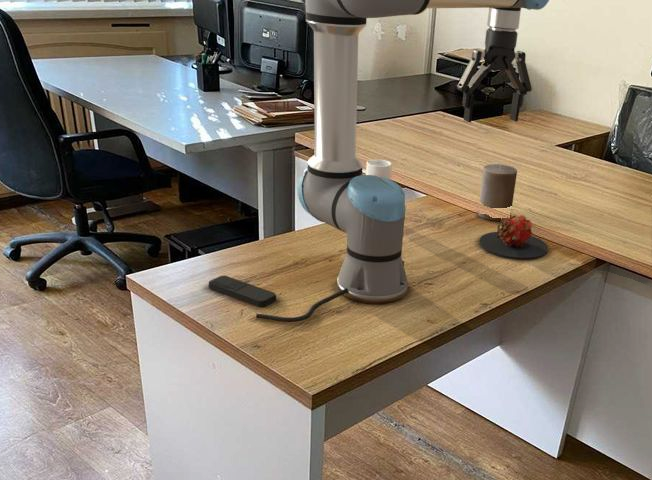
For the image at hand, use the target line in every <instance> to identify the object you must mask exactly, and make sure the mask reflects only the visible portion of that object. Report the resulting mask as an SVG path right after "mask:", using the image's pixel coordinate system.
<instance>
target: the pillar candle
mask: <svg viewBox="0 0 652 480" xmlns="http://www.w3.org/2000/svg"><path fill="white" fill-rule="evenodd" d="M517 175H518V170H517V169H516V168H515V167H514V166H511V165H507V164H502V163H491V164H488V163H487V164H486V165H483V166H482V176H481V183H480V190H479V191H480V192H479V200H480V202H481V203H482V204H483V205H484V206H487V207H490V208H507V207H510V206H512V207H513V203H514V196H515V188H516V183H517ZM479 200H478V201H479ZM477 214H478V215H477V216H478V217H480V218H481V219H484V220H487V221H488V220H489V221H493V222H501V218H492V217H490V216H489V215H487V214H480V213H479V212H478V211H477Z"/></svg>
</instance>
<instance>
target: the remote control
mask: <svg viewBox="0 0 652 480" xmlns="http://www.w3.org/2000/svg"><path fill="white" fill-rule="evenodd" d="M208 289H210V290H213V291H216V292H218V293H220V294H224V295H226V296H229V297H231V298H235V299H238V300H239V301H243V302H246V303H248V304H252V305H254V306H257V307H259V308H264V307H267V306H268V305H271V304H272V303H275V302H276V301H277V295H276V293H275V292H273V291H271V290H268V289H265V288H262V287H259V286H256V285H253V284H252V283H248V282H245V281H242V280H240V279H236V278H234V277H231V276H228V275H225V274H224V275H220V276H218V277H216V278H212V279H210V280H209V281H208Z"/></svg>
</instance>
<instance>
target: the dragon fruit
mask: <svg viewBox="0 0 652 480" xmlns="http://www.w3.org/2000/svg"><path fill="white" fill-rule="evenodd" d="M499 223H500V224H498V225H497V227H496V228H497V230H496V232H497V234H498V236H497V238H499V239H501V240H503V243H504V244H506V245H507V246H512V245H513V244H514V245H516V246H521V247H522V246H523V244H525V242H526V241H527V240H528V239H529V238H530V237H531V236H533V232H532V228H533V224H532V222H531V220H530V219H527V217H526V216H524V215H519V216H517V215H516V214H514V215H511V216H510V218H508V217H507V218H502V219H501V221H499Z"/></svg>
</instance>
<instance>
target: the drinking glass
mask: <svg viewBox="0 0 652 480" xmlns="http://www.w3.org/2000/svg"><path fill="white" fill-rule="evenodd" d="M392 169H393V165H392V162H391V161H388V160H385V159H379V158H378V159H376V158H375V159H374V158H373V159H369V160H367V161H366V165H365V175H374V176H377V177H384V178H387V179H390V180H392V173H393V172H392V171H393V170H392Z"/></svg>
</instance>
